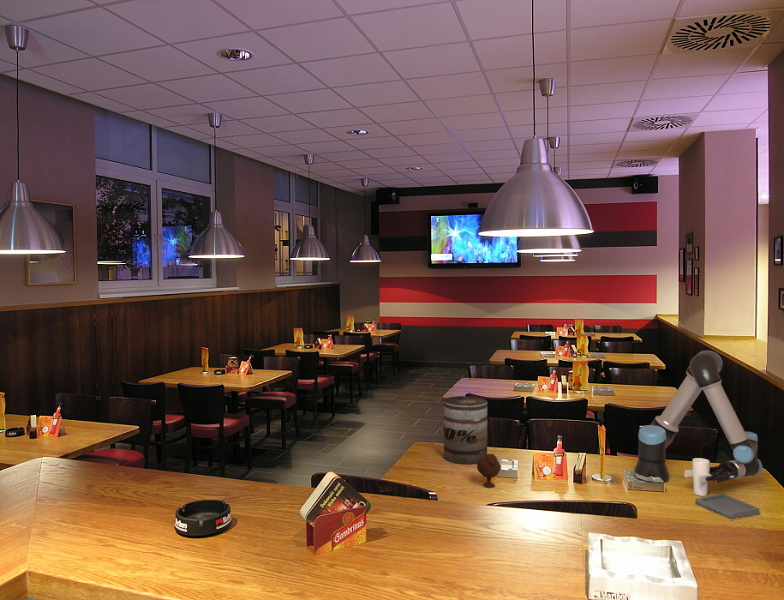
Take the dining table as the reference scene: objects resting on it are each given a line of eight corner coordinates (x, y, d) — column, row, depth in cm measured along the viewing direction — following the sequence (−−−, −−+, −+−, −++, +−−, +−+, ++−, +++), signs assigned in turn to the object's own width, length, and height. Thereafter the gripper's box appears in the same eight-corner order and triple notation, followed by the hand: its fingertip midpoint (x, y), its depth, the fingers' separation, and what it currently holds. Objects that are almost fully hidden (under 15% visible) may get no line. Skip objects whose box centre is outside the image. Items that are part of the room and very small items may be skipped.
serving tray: (695, 504, 250) (695, 498, 250) (722, 499, 255) (722, 493, 255) (731, 520, 234) (731, 514, 234) (759, 514, 240) (759, 508, 239)
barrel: (434, 456, 316) (434, 400, 314) (465, 448, 329) (465, 394, 328) (464, 467, 298) (464, 407, 296) (496, 458, 311) (496, 401, 310)
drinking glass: (711, 497, 257) (712, 463, 256) (694, 496, 258) (694, 462, 258) (706, 492, 264) (707, 458, 263) (689, 490, 265) (690, 457, 264)
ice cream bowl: (502, 482, 276) (502, 450, 276) (498, 491, 266) (498, 458, 265) (479, 480, 280) (479, 448, 279) (474, 488, 269) (475, 455, 269)
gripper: (751, 485, 258) (711, 493, 250) (712, 471, 276) (673, 477, 268) (751, 468, 258) (711, 475, 249) (712, 455, 276) (674, 461, 268)
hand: (692, 476), depth 259 cm, fingers closed on drinking glass, 6 cm apart
